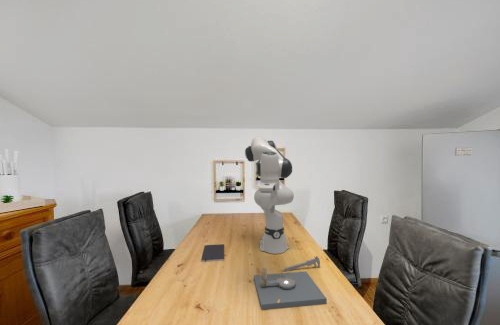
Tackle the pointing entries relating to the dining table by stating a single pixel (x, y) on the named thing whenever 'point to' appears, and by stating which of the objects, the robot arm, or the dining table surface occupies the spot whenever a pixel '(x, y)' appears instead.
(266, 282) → the wooden knob lever
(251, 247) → the dining table surface
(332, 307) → the dining table surface
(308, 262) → the caliper
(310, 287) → the base plate
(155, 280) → the dining table surface
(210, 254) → the notebook
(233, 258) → the dining table surface
